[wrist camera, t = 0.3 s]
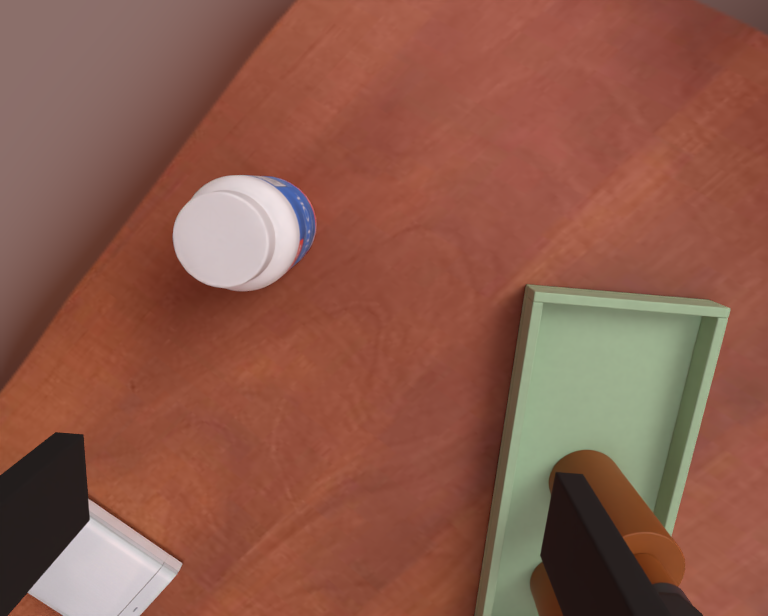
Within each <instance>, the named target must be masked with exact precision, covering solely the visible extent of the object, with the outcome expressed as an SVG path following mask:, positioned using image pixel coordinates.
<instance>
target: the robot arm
mask: <svg viewBox="0 0 768 616" xmlns="http://www.w3.org/2000/svg"><path fill="white" fill-rule="evenodd" d="M89 521H90V515H89V502H88V489H87V476H86V463H85V450H84V437H83V434H70V433H57V432H55V433H54V434H53V435H52V436H50V437H49V438H48V439H46V440H45V441H44V442H43V443H41V444H40V445H39V446H37V447H36V448H35V449H34V450H32V451H31V452H30V453H29V454H27V455H26V456H25V457H23V458H22V459H21V460H20V461H18V462H17V463H16V464H14V465H13V466H12V467H11V468H9V469H8V470H7V471H5V472H4V473H3V474H2V475H0V616H8V615H9V613H10V612H11V611H12V610H13V609H14V608H15V606H16V605H17V604H18V603H19V602H20V601H21V599H22V598H23V597H24V596H25V595H26V594H27V593H28V591H29V590H30V589H31V588H32V587H33V586H34V584H35V583H36V582H37V581H38V580H39V579H40V577H41V576H42V575H43V574H44V573H45V572H46V570H47V569H48V568H49V567H50V566H51V565H52V564H53V562H54V561H55V560H56V559H57V558H58V557H59V555H60V554H61V553H62V552H63V551H64V550H65V548H66V547H67V546H68V545H69V544H70V543H71V541H72V540H73V539H74V538H75V537H76V536H77V535H78V533H79V532H80V531H81V530H82V529H83V528H84V526H85V525H86V524H87V523H88V522H89ZM540 557H541V559H542V562H543V564H544V567H545V570H546V572H547V575H548V577H549V580H550V583H551V585H552V588H553V590H554V593H555V596H556V598H557V601H558V603H559V606H560V609H561V611H562V614H563V616H703V615H702V613H700V612H699V611H698V610H697V609H696V608H695V607H694V606H692V605H691V604H690V603H689V602H688V601H687V600H686V599H684V598H683V597H682V596H681V595H680V594H679V593H667V592H657V591H656V590H655V588H654V586H653V585H652V583H651V582H650V580H649V579H648V577H647V575H646V574H645V572H644V571H643V569H642V567H641V566H640V564H639V563H638V561H637V559H636V558H635V556H634V555H633V553H632V551H631V550H630V548H629V547H628V545H627V543H626V542H625V540H624V539H623V537H622V536H621V534H620V532H619V531H618V529H617V528H616V526H615V524H614V523H613V521H612V520H611V518H610V516H609V515H608V513H607V512H606V510H605V508H604V507H603V505H602V504H601V502H600V500H599V499H598V497H597V496H596V494H595V492H594V491H593V489H592V488H591V486H590V485H589V483H588V481H587V480H586V478H585V477H584V475H583V474H575V473H563V472H555V478H554V483H553V488H552V494H551V499H550V505H549V510H548V515H547V521H546V526H545V531H544V537H543V542H542V547H541V553H540Z"/></svg>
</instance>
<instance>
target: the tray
mask: <svg viewBox="0 0 768 616" xmlns="http://www.w3.org/2000/svg"><path fill="white" fill-rule="evenodd" d="M729 313H730V308H728V307H726V306H723V305H721V304H718V303H716V302H713V301H711V300H705V299H693V298H682V297H670V296H658V295H646V294H635V293H623V292H611V291H599V290H587V289H576V288H564V287H552V286H540V285H529V284H527V285H526V287H525V294H524V300H523V306H522V313H521V319H520V326H519V332H518V338H517V345H516V351H515V358H514V364H513V371H512V377H511V383H510V390H509V396H508V403H507V409H506V415H505V422H504V428H503V435H502V441H501V448H500V454H499V460H498V467H497V473H496V480H495V486H494V492H493V499H492V505H491V512H490V518H489V525H488V531H487V537H486V544H485V550H484V557H483V563H482V569H481V576H480V582H479V589H478V595H477V602H476V608H475V614H474V616H539V614H538V611H537V608H536V605H535V602H534V599H533V596H532V593H531V589H530V579H531V576H532V573H533V572H534V570H535V569H536V567H537V566H538V565H539V564H540V563H542V559H541V557H540V553H541V547H542V542H543V537H544V531H545V526H546V521H547V515H548V510H549V505H550V499H551V493H550V490H549V478H550V474H551V471H552V469H553V468H554V466H555V465H556V464H557V462H558V461H559V460H561V459H562V458H563V457H565V456H566V455H568V454H570V453H572V452H575V451H580V450H594V451H598V452H601V453H604V454H605V455H607V456H608V457H610V458H611V459H612V460H613V461H614V462H615V464H616V465H617V466H618V468H619V469H620V470H621V472H622V473H623V474H624V475H625V477H626V478H627V479H628V481H629V482H630V483H631V485H632V486H633V487H634V489H635V490H636V491H637V492H638V494H639V495H640V496H641V498H642V499H643V500H644V502H645V503H646V504H647V506H648V507H649V508H650V509H651V511H652V512H653V513H654V515H655V516H656V517H657V519H658V520H659V521H660V523H661V524H662V525H663V526H664V528H665V529H666V530H667V532H668V533H669V534H670V536H671V535H672V532H673V528H674V524H675V520H676V516H677V512H678V509H679V505H680V501H681V497H682V493H683V489H684V486H685V482H686V478H687V474H688V470H689V466H690V463H691V459H692V455H693V451H694V447H695V443H696V440H697V436H698V432H699V428H700V424H701V420H702V417H703V413H704V409H705V405H706V401H707V397H708V394H709V390H710V386H711V382H712V378H713V375H714V371H715V367H716V363H717V359H718V355H719V352H720V348H721V344H722V340H723V336H724V332H725V329H726V325H727V321H728V319H727V318H728V317H729Z"/></svg>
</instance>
